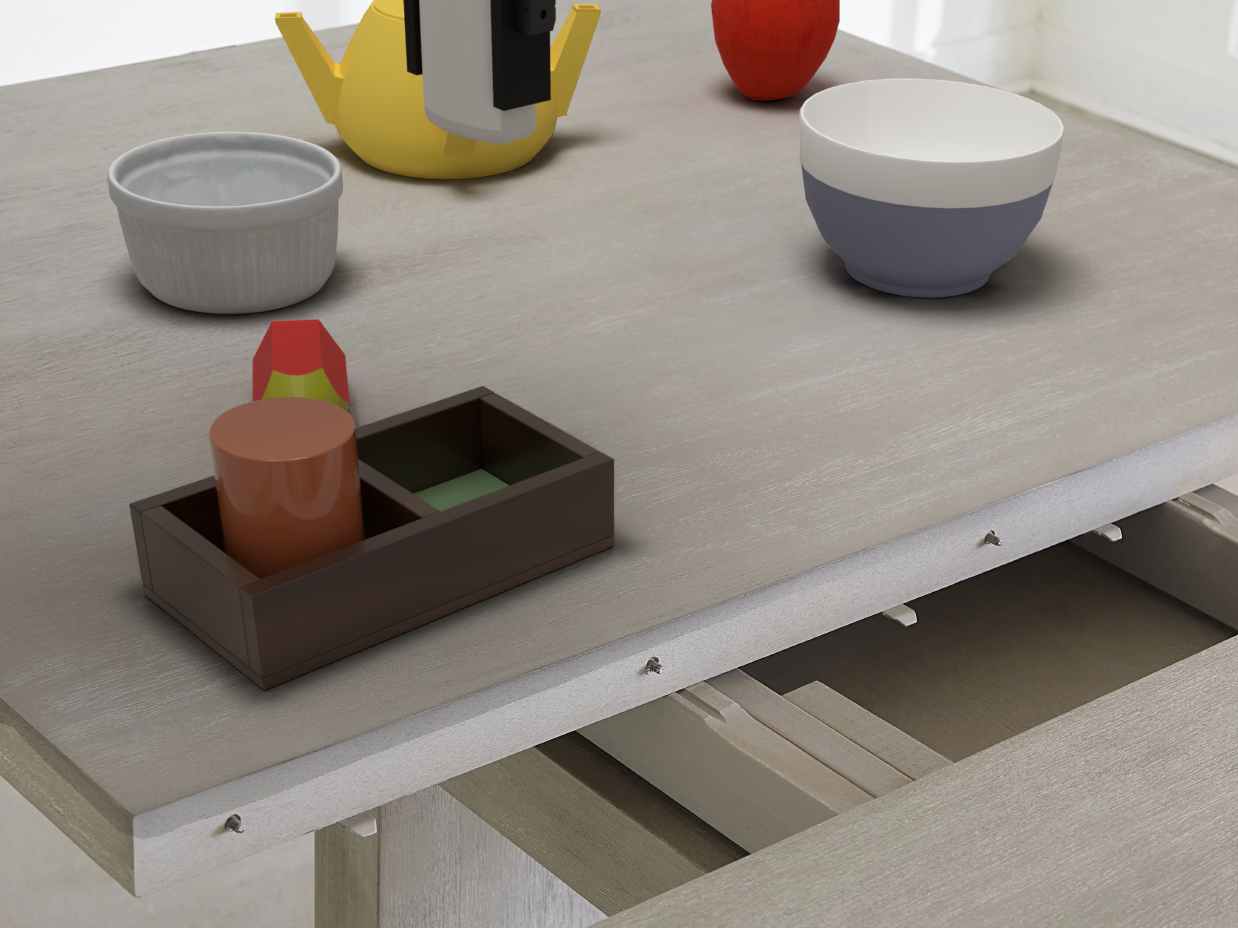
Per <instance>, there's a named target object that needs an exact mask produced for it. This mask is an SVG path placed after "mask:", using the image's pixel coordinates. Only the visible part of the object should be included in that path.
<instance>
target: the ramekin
mask: <svg viewBox="0 0 1238 928" xmlns="http://www.w3.org/2000/svg"><path fill="white" fill-rule="evenodd" d="M107 186H108V193H109V197H110V199H111V201H112V203H113V205H114V206H115V207H116V209H117V210H116V211H117V215H118V219H119V224H120V227H121V231H122V234H123V239H124V243H125V247H126V250H127V254H128V256H129V260H130V263H131V265H132V268H133V271H134V273H135V276H136V277H137V279H138V281H139V283H140V284H141V285H142V286H143V287H144V288H145V289H146V290H147V291H148V292H149V293H150V294H151V295H152V296H154V297H155V298H156V299H158V300H159V301H161V302H163V303H164V304H167V305H169V306H172V307H175V308H178V309H182V310H186V311H192V312H196V313H205V314H215V315H218V314H219V315H239V314H252V313H264V312H268V311H273V310H278V309H281V308H282V309H283V308H285V307H289V306H292V305H295V304H298V303H301V302H302V301H305V300H307V299H310V297H312V296H314V295H315V294H317V293H318V292H319V291H320V290H321V289H322V288H323V286H324V285H325V283H326V282H327V281H328V279H329V278H330V277H331V275H332V274H333V271H334V268H335V264H336V260H337V259H336V258H337V248H338V235H339V200H340V198H341V197H342V195H343V190H344V180H343V169H342V165H341V162H340V160H339V159H338V158H337V157H336V155H334V154H333V153H332V152H331V151H329V150H327V149H326V148H324V147H322V146H320V145H318V144H315V143H313V142H309V141H306V140H304V139H300V138H297V137H292V136H286V135H281V134H276V133H275V134H274V133H266V132H256V131H255V132H254V131H210V132H209V131H207V132H199V133H198V132H197V133H189V134H181V135H176V136H171V137H165V138H161V139H157V140H152V141H150V142H149V141H148V142H146V143H144V144H141V145H137V146H135V147H133V148H131V149H129V150H127V151H125V152H123V153H122V154H120V155H119V156H117V157H116V158H115V159H114V160H113V161H112V162H111V163H110V165H109V168H108V170H107Z"/></svg>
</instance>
